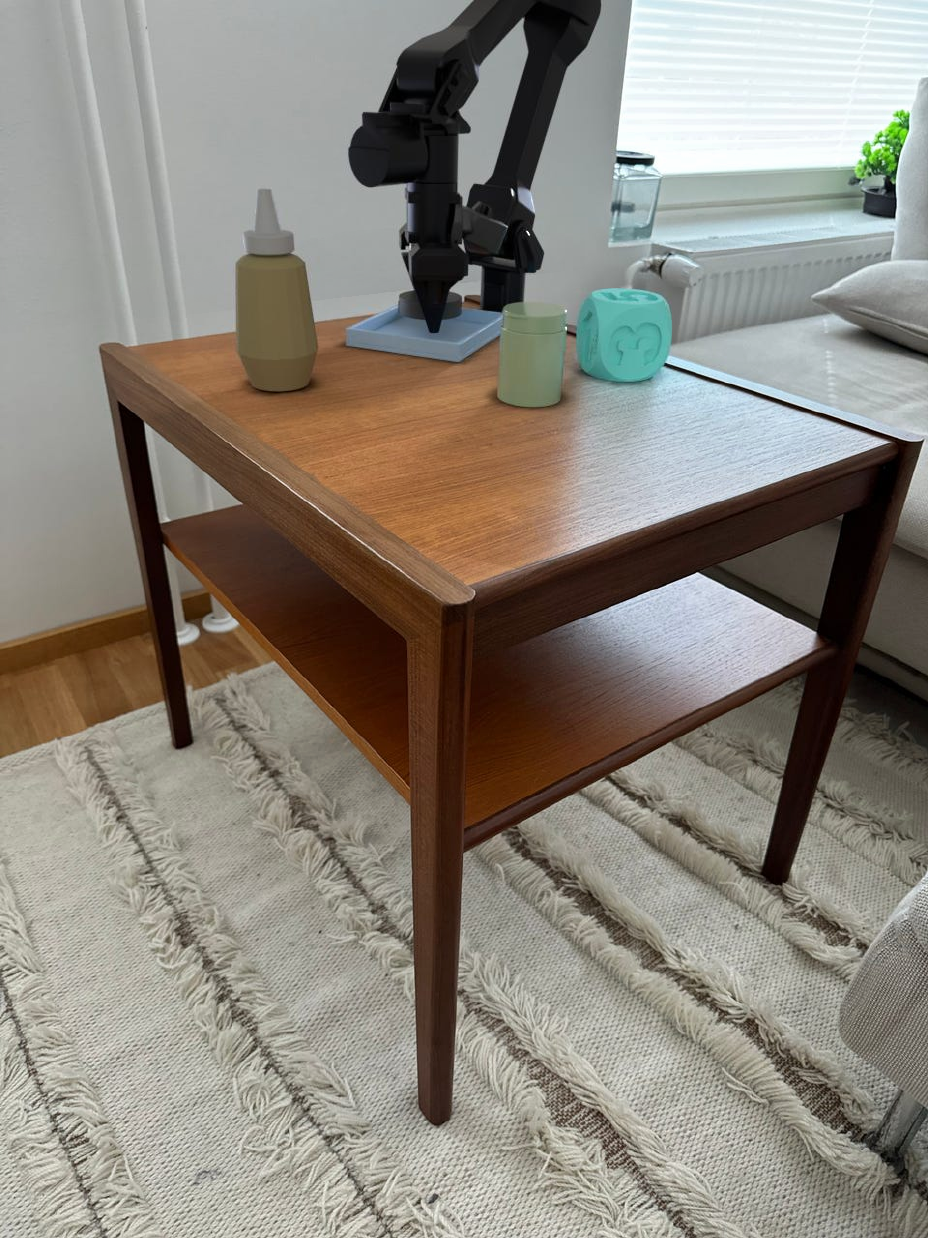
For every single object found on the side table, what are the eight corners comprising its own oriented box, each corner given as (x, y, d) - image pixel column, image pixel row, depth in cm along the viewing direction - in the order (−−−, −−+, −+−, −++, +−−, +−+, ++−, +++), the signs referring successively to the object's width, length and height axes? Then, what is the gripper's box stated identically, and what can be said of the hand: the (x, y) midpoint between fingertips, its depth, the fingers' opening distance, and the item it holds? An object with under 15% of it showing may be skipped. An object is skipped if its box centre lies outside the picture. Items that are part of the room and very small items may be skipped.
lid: (400, 320, 103) (400, 303, 102) (396, 305, 109) (396, 289, 108) (465, 320, 104) (466, 303, 103) (457, 305, 110) (457, 289, 109)
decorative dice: (572, 361, 101) (580, 287, 97) (640, 360, 102) (649, 287, 98) (594, 383, 94) (603, 305, 90) (665, 381, 96) (677, 304, 91)
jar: (509, 383, 93) (514, 298, 89) (568, 392, 91) (576, 306, 87) (487, 401, 88) (491, 311, 84) (549, 411, 86) (557, 320, 82)
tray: (406, 316, 117) (406, 300, 116) (508, 329, 112) (509, 313, 111) (346, 345, 104) (345, 328, 103) (458, 362, 99) (459, 344, 98)
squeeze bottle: (304, 400, 87) (290, 197, 77) (226, 392, 88) (203, 191, 79) (331, 376, 94) (321, 186, 84) (258, 369, 95) (240, 182, 85)
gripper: (519, 192, 92) (510, 345, 100) (490, 172, 108) (485, 306, 116) (411, 191, 91) (411, 346, 99) (398, 171, 106) (399, 306, 115)
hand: (430, 324), depth 107 cm, fingers closed on lid, 7 cm apart
